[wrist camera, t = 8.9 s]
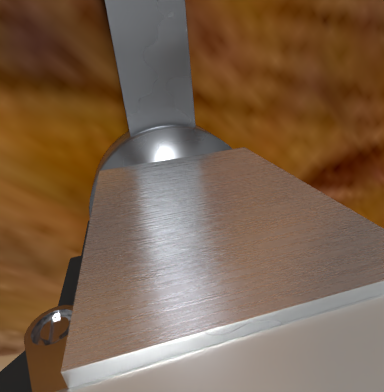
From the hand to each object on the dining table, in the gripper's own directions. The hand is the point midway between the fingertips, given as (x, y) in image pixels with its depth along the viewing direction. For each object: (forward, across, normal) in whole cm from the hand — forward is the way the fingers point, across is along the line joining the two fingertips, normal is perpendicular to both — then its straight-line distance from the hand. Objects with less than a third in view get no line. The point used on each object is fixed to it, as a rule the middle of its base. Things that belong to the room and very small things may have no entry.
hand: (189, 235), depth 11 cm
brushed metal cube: (+1, 0, 0) cm, 1 cm away
